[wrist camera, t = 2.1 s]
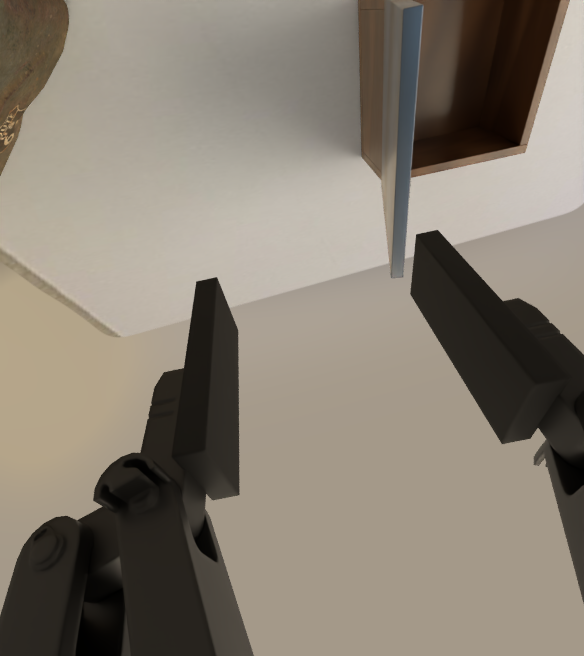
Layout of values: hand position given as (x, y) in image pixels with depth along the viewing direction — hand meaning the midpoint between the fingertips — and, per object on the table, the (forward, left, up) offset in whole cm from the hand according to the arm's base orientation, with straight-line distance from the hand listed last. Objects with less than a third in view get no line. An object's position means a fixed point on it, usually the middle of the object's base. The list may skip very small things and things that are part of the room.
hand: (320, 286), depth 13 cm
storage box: (-7, +15, -31) cm, 35 cm away
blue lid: (-3, +8, -15) cm, 17 cm away
